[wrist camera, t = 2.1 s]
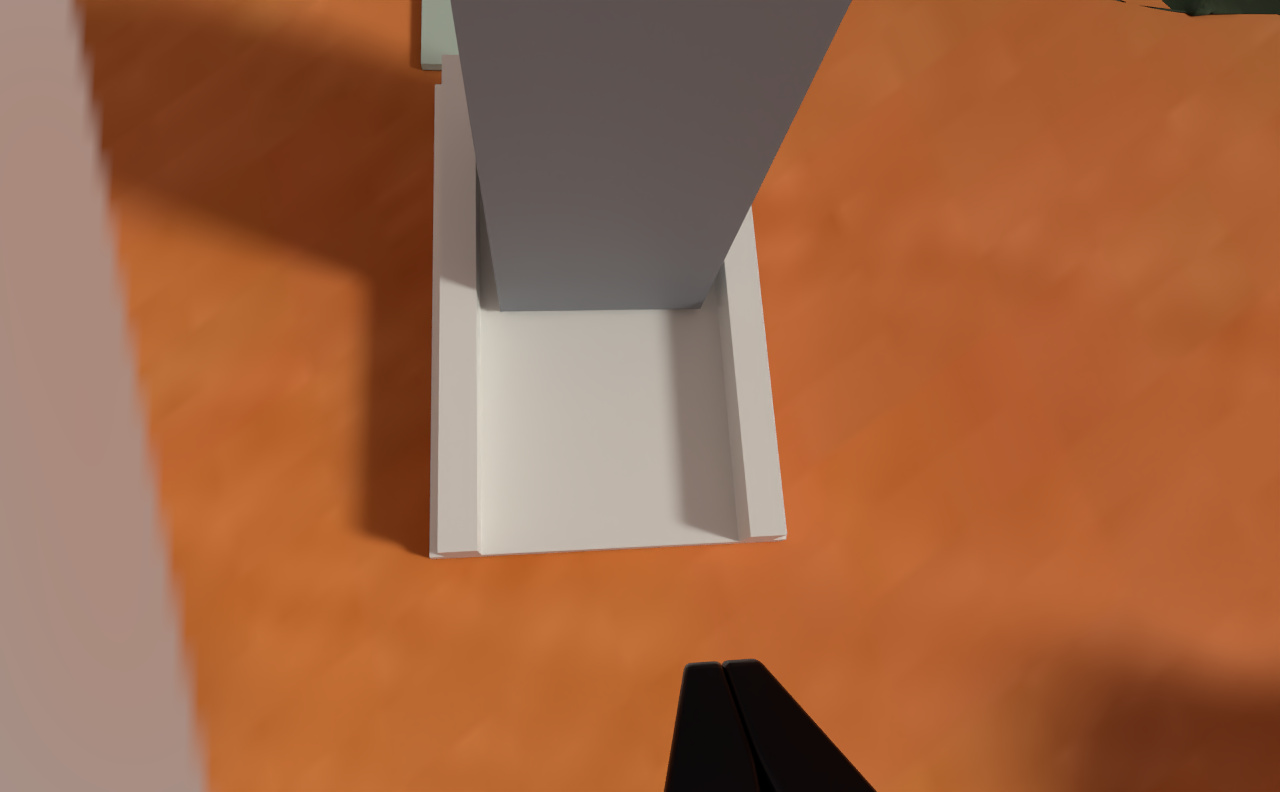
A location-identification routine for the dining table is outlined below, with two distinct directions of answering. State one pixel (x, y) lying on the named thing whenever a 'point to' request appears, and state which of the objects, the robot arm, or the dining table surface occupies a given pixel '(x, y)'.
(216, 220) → the dining table surface
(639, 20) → the gray block
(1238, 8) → the rose bouquet
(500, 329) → the off-white chute
